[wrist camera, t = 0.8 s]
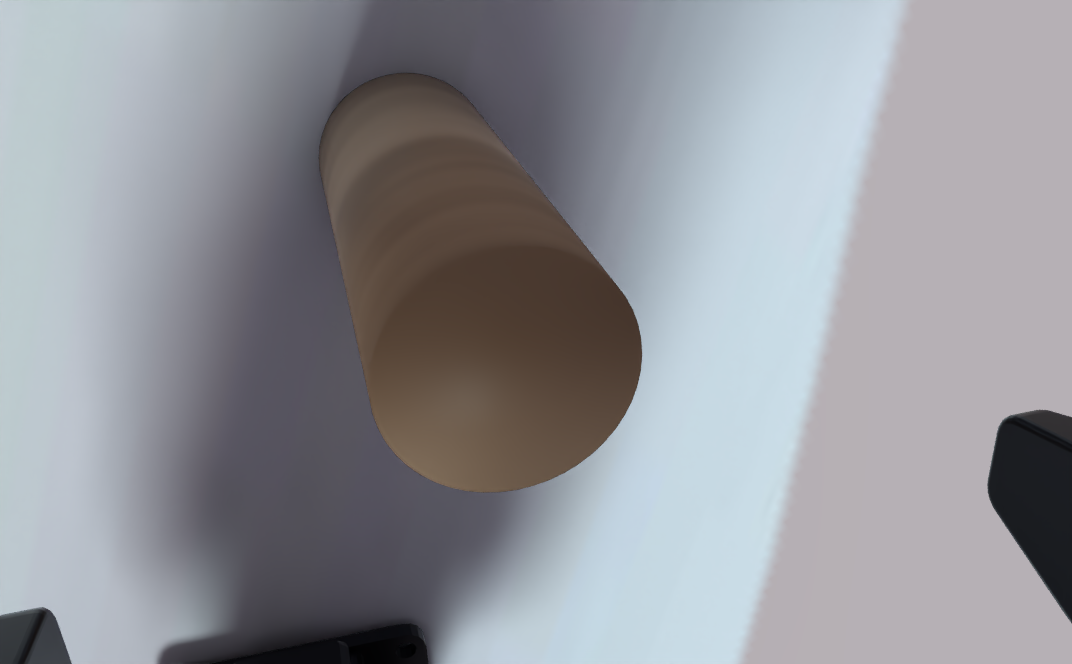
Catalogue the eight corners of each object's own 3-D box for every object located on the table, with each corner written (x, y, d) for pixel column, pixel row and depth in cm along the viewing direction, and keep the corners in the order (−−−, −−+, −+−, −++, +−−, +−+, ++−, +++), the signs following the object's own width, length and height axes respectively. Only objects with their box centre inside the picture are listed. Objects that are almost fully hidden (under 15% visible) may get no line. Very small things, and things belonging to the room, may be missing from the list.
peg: (494, 228, 21) (640, 467, 13) (330, 249, 20) (385, 513, 13) (484, 65, 20) (643, 227, 12) (306, 81, 19) (352, 266, 11)
